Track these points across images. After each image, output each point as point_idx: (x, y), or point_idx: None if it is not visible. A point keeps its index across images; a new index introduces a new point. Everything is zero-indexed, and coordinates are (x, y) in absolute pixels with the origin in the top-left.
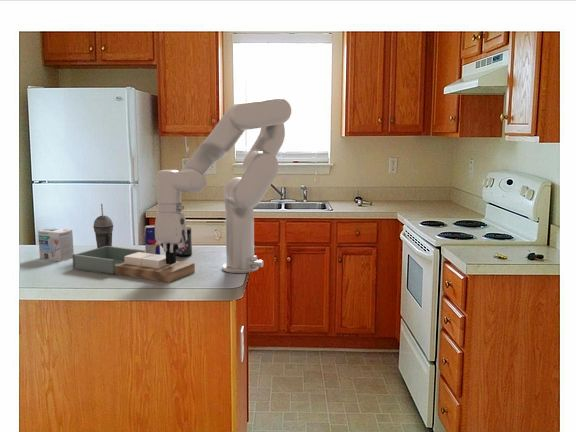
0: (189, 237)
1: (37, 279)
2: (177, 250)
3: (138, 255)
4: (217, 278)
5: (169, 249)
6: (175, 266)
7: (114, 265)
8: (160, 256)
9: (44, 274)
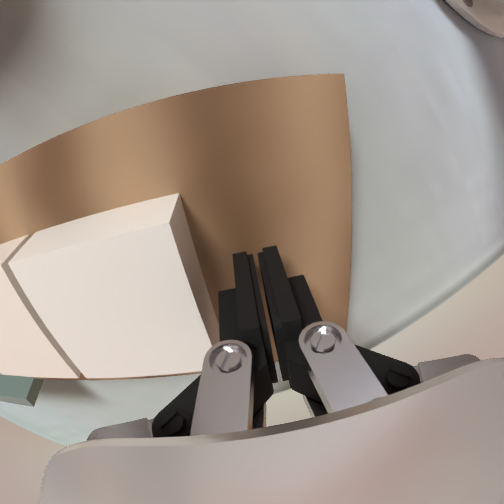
0: None
1: (23, 421)
2: (338, 325)
3: (4, 340)
4: (484, 139)
5: (267, 386)
6: (277, 240)
7: (35, 380)
8: (98, 291)
9: None
